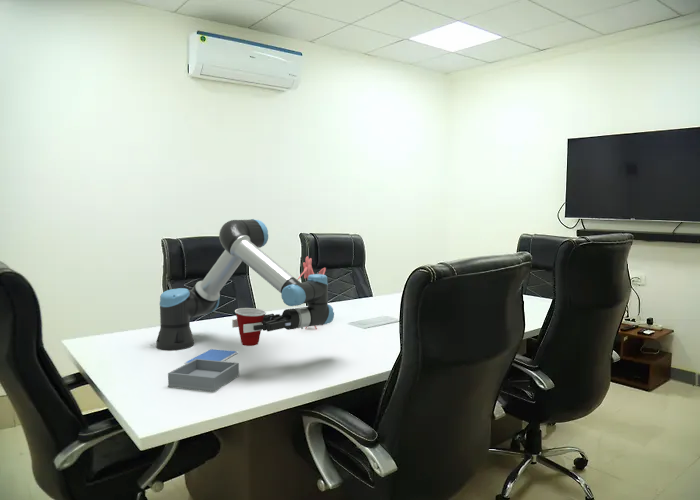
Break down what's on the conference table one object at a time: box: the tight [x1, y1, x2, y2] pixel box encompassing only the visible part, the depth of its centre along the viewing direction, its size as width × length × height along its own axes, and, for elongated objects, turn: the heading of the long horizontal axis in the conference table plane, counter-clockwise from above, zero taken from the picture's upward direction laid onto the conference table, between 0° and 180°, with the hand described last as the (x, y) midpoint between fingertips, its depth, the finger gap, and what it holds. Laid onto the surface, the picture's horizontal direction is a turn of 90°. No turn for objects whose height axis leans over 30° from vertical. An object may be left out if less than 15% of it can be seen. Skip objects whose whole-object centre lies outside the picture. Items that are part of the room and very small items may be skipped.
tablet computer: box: [184, 348, 238, 365], centre depth 197 cm, size 19×13×1 cm, turn 165°
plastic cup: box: [234, 307, 267, 347], centre depth 178 cm, size 11×11×12 cm
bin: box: [167, 359, 240, 393], centre depth 171 cm, size 17×17×4 cm
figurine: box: [292, 255, 327, 331], centre depth 251 cm, size 15×26×35 cm, turn 163°
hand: (238, 326), depth 175 cm, fingers closed on plastic cup, 8 cm apart
